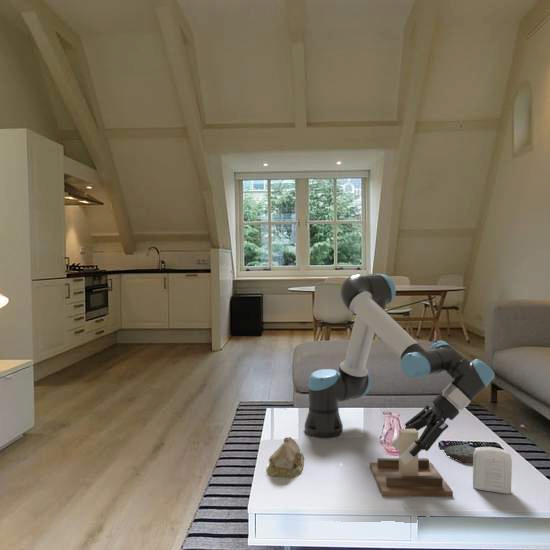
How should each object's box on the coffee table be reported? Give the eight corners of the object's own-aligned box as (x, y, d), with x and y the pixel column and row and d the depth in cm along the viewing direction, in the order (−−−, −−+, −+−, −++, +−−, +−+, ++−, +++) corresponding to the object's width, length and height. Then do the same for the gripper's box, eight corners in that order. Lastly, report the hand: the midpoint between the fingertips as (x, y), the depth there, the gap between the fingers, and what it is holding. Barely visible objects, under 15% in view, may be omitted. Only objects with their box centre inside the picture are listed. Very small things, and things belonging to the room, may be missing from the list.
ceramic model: (295, 481, 134) (295, 449, 134) (262, 474, 139) (261, 443, 138) (309, 461, 148) (309, 432, 147) (278, 456, 152) (278, 427, 151)
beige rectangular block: (398, 473, 136) (398, 428, 135) (415, 473, 136) (415, 428, 135) (401, 478, 133) (401, 432, 132) (418, 478, 133) (418, 432, 132)
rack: (369, 467, 143) (369, 454, 143) (431, 467, 143) (431, 454, 143) (382, 496, 125) (382, 482, 125) (452, 496, 125) (452, 482, 125)
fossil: (472, 468, 143) (472, 456, 142) (438, 453, 153) (438, 442, 153) (490, 460, 148) (490, 449, 148) (455, 447, 159) (455, 436, 159)
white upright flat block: (509, 488, 129) (510, 447, 129) (512, 495, 125) (513, 453, 125) (471, 483, 132) (472, 442, 132) (473, 490, 128) (474, 448, 128)
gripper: (475, 424, 122) (417, 480, 123) (445, 399, 144) (397, 447, 145) (456, 405, 122) (398, 461, 123) (429, 383, 144) (381, 431, 145)
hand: (398, 453), depth 134 cm, fingers open, 9 cm apart
